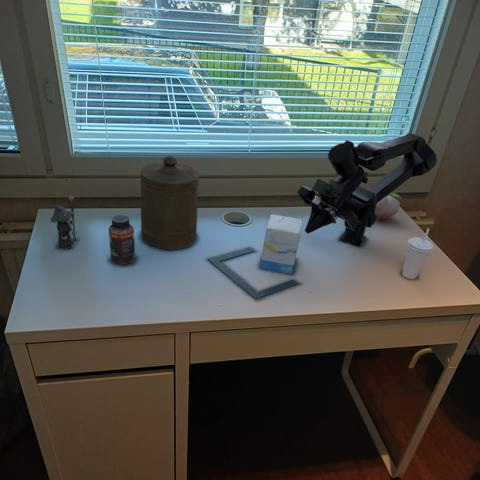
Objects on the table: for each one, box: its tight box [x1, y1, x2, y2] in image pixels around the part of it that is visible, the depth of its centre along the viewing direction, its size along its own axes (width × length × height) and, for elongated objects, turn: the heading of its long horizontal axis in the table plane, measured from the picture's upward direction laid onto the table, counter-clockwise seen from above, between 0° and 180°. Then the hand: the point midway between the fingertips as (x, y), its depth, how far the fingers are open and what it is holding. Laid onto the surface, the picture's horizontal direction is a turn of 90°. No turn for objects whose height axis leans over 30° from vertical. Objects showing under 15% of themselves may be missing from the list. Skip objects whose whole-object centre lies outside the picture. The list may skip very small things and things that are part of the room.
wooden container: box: [140, 155, 200, 250], centre depth 123 cm, size 15×15×22 cm
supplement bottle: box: [108, 214, 136, 266], centre depth 115 cm, size 6×6×11 cm
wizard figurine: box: [49, 194, 76, 250], centre depth 118 cm, size 8×6×12 cm
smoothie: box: [401, 227, 434, 280], centre depth 122 cm, size 6×6×14 cm
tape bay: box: [207, 247, 299, 300], centre depth 120 cm, size 14×20×1 cm
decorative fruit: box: [374, 192, 403, 220], centre depth 150 cm, size 9×8×10 cm
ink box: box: [260, 214, 304, 275], centre depth 121 cm, size 9×8×12 cm
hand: (306, 232), depth 124 cm, fingers closed
